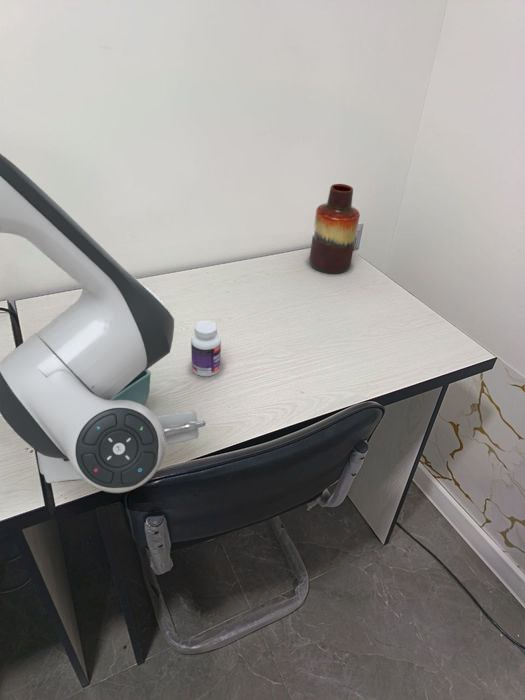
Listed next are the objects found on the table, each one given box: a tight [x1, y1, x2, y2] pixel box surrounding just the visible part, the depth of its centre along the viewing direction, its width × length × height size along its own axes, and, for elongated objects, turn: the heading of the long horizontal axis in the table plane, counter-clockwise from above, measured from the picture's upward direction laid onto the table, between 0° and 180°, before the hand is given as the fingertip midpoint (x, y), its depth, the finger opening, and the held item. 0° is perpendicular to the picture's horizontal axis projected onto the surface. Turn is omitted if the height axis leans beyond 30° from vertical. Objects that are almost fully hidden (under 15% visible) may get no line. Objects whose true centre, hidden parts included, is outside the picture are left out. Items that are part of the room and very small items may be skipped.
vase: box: [308, 183, 361, 275], centre depth 124 cm, size 11×11×20 cm
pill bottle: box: [190, 319, 222, 377], centre depth 91 cm, size 5×5×10 cm
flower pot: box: [111, 369, 152, 406], centre depth 81 cm, size 9×9×9 cm
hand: (121, 435), depth 71 cm, fingers closed
